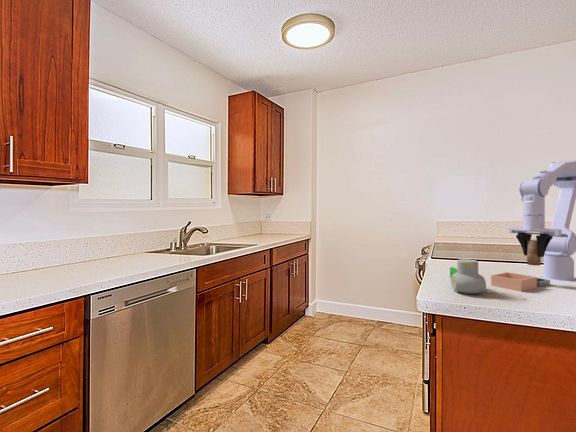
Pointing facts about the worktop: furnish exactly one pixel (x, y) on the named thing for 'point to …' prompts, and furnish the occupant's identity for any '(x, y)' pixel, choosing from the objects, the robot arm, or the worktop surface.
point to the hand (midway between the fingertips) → (533, 256)
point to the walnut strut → (533, 253)
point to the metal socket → (542, 282)
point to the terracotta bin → (514, 281)
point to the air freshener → (468, 277)
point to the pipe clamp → (452, 271)
